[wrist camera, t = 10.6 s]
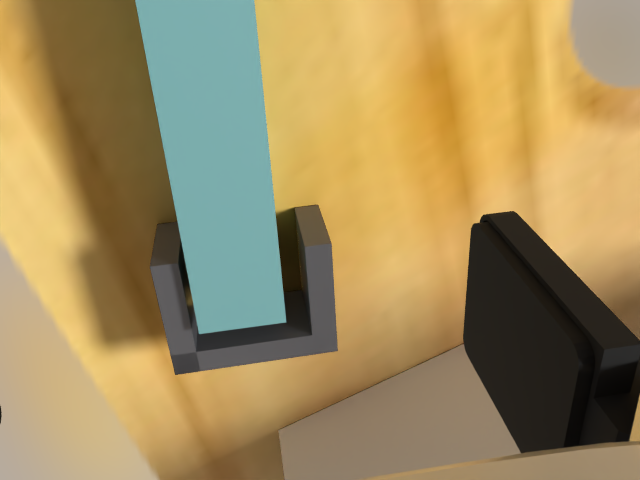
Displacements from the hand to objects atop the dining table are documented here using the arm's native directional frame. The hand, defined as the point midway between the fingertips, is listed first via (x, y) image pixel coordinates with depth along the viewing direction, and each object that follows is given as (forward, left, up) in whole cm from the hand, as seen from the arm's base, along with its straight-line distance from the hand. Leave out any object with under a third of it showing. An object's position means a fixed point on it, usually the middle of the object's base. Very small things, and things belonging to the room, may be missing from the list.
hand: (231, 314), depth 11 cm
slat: (0, -1, -18) cm, 18 cm away
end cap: (0, +9, -18) cm, 20 cm away
